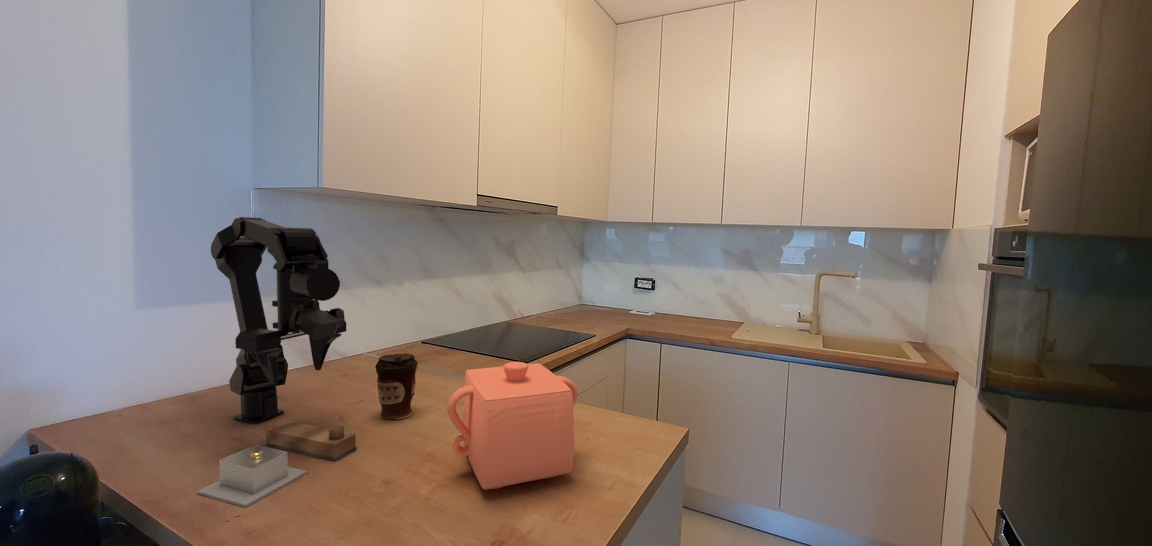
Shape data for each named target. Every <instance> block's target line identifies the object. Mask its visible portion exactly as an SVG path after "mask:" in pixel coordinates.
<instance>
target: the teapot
mask: <svg viewBox="0 0 1152 546" xmlns="http://www.w3.org/2000/svg"><path fill="white" fill-rule="evenodd" d="M464 377H465V378H464V379H465V380H464V386H462V387H460V388H459V389H457V390H455V391H454V392H453V393H452V395H451V396H450V397H449V399H448V401H447V403H446V404H447V405H446V410H447V415H448V417H449V420H450V422H451V423H452V424H453V426H454V427H455V429H456V430H457V431H458V432H459V433H460V435H458V436H456V437H455V438H454V440H453V443H452V449H453V451H454V453H455V455H458V456H459V457H467V458H468V461H469V464H470V466H471V468H472V471H473V472H474V474H475V477H476V480H477V481H478V483H479V484H480V487H481V489H483V490H484V491H485V490H490V489H491V490H492V489H493V490H497V489H501V488H504V487H507V486H513V485H518V484H521V483H522V484H523V483H528V482H533V481H537V480H543V479H552V478H554V477H557V476H562V475H567V474H571V473H572V472H573V467H574V466H573V465H574V458H575V457H574V455H575V428H574V427H575V425H574V419H575V418H574V407H575V404H576V403H577V399H578V389H577V386H576V385H575V383H574V382H573V381H572V380H571V379H569V378H567V377H566V376H563V375H556V374H554V372H552V371H551V370H549V369H548V368H547V367H545V366H544V365H543V364H540V363H525V362H521V361H510V362H506V363H504V364H503V365H501V366H494V367H493V366H492V367H491V366H490V367H483V368H482V367H481V368H474V369H473V368H471V369H466V371H465V376H464ZM462 399H463V407H462V408H463V410H462V411H463V412H462V420H461V418H460V416H459V415H458V412H457V410H456V409H457V408H456V406H457V403H458V402H459V401H460V400H462ZM462 442H463V444H464V446H461V445H460V443H462Z"/></svg>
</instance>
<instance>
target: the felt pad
mask: <svg viewBox="0 0 1152 546" xmlns="http://www.w3.org/2000/svg"><path fill="white" fill-rule="evenodd" d="M307 474H308V471H307V470H303V469H300V468H295V467H292V466H291V467H290V466H288V476H287V477H285V478H283V479H282V480H280V481H278V482H276V483H274V484H272V485H270V486H269V487H267V488H265V489H263V490H261V491H259V492H257V493H256V494H250V493H246V492H242V491H239V490H235V489H231V488H228V487H224V486H220V480H218V481H216V482H213V483H211V484H210V485H207V486H205V487H203V488H201V489H199V490H197V491H196V494H197V495H200V496H204V497H207V498H211V499H215V500H218V501H220V502H221V501H222V502H225V503H228V504H231V505H235V506H239V507H242V508H248V507H250V506H252V505H254V504H255V503H257V502H258V501H260V500H262V499H264V498H266V497H268V496H270V495H271V494H273V493H275V492H277V491H279V490H280V489H282V488H283V487H285V486H288V485H290V484H291V483H292V482H294V481H296V480H298V479H301V478H302V477H304V476H305V475H307Z"/></svg>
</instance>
